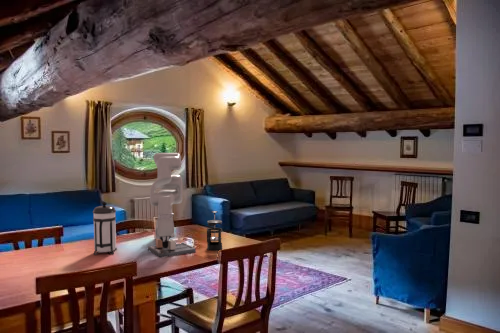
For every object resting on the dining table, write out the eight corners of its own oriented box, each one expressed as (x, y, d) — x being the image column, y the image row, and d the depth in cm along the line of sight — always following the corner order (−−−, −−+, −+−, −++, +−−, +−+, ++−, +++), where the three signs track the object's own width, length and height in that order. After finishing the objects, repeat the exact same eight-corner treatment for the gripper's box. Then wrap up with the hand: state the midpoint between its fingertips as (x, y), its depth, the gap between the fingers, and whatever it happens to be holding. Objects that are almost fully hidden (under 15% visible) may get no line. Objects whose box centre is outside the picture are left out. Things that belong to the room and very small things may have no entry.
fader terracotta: (155, 246, 255) (155, 238, 255) (160, 245, 257) (160, 237, 256) (158, 248, 252) (158, 239, 251) (162, 247, 253) (162, 238, 253)
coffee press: (85, 253, 250) (84, 202, 248) (110, 247, 262) (109, 199, 260) (100, 258, 238) (99, 205, 236) (125, 252, 250) (124, 202, 248)
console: (147, 250, 257) (147, 245, 256) (181, 245, 269) (181, 240, 268) (160, 257, 240) (160, 252, 240) (195, 252, 252) (195, 247, 252)
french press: (226, 248, 259) (226, 211, 258) (214, 251, 252) (214, 213, 251) (213, 245, 267) (213, 209, 266) (202, 248, 261) (201, 211, 259)
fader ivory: (168, 248, 251) (167, 239, 250) (172, 247, 252) (172, 239, 252) (170, 249, 247) (170, 241, 247) (175, 249, 249) (175, 240, 249)
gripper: (174, 214, 254) (174, 244, 255) (150, 216, 246) (150, 248, 247) (179, 216, 247) (179, 247, 249) (154, 218, 239) (155, 251, 241)
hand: (165, 247), depth 248 cm, fingers closed
